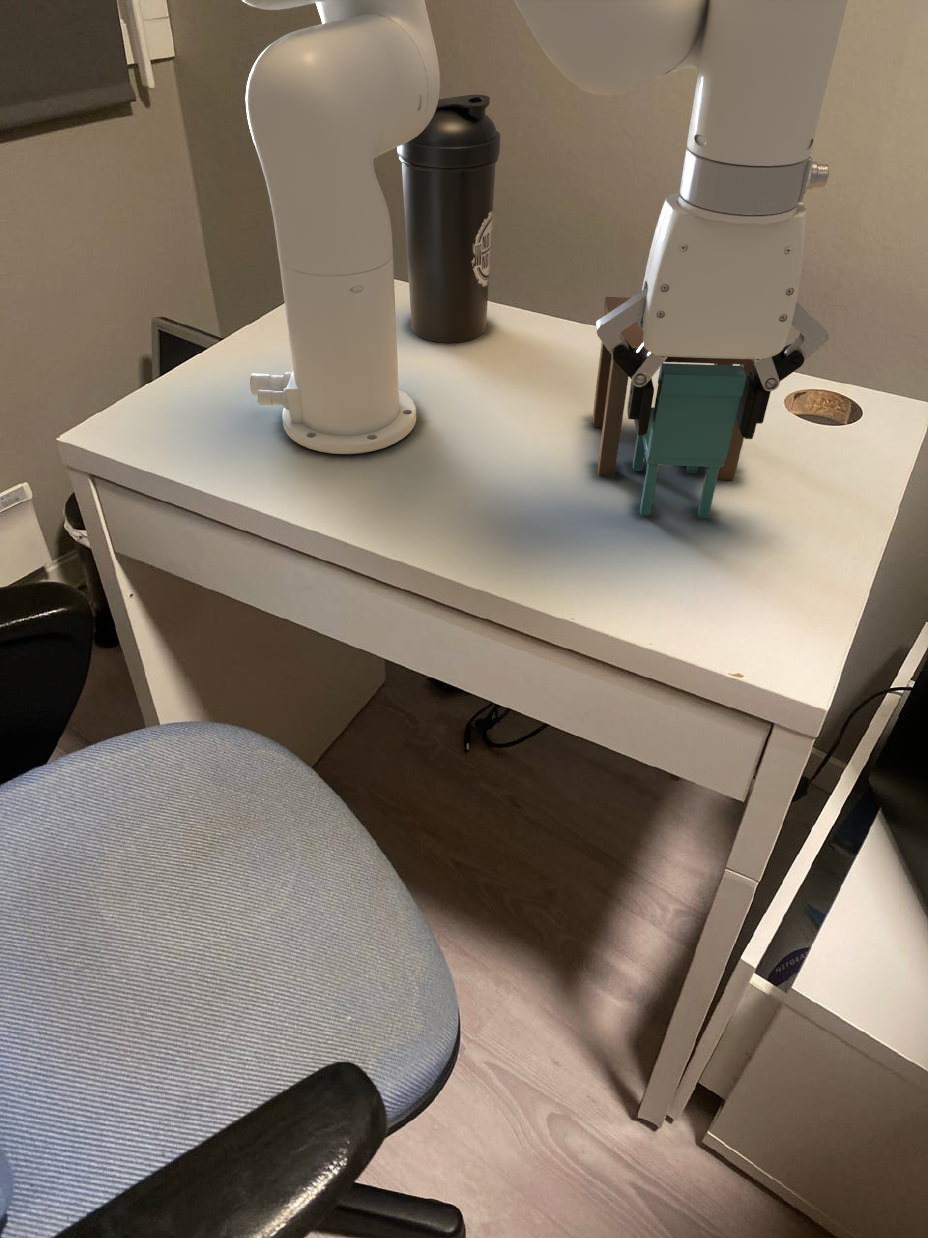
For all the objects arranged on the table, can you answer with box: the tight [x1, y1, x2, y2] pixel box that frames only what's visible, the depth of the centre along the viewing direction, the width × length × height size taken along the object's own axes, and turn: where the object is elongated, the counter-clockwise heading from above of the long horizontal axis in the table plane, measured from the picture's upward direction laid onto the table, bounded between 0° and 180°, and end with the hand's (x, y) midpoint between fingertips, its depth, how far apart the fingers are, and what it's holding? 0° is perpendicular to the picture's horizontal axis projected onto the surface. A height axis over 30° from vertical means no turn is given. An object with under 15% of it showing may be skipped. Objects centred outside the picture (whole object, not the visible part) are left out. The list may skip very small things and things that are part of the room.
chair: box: [631, 362, 747, 519], centre depth 73 cm, size 8×6×13 cm
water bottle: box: [396, 94, 501, 344], centre depth 94 cm, size 10×10×23 cm
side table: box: [592, 296, 755, 481], centre depth 78 cm, size 12×10×12 cm
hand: (692, 426), depth 69 cm, fingers open, 7 cm apart
